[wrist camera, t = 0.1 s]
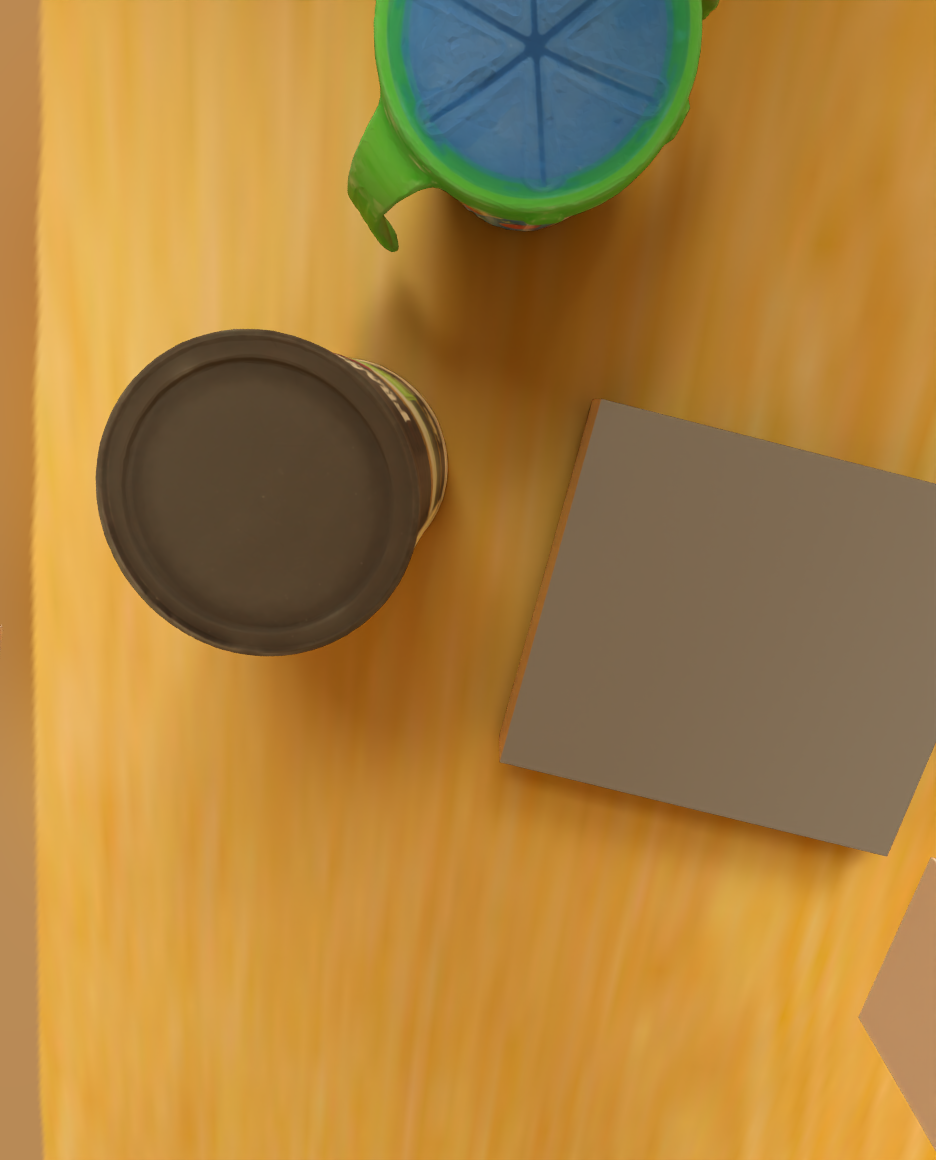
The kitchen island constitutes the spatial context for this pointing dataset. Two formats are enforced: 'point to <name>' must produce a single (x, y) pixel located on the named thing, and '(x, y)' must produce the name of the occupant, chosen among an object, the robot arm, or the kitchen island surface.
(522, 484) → the kitchen island surface
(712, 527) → the slate plinth
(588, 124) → the snack cup
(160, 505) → the coffee can
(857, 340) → the kitchen island surface
